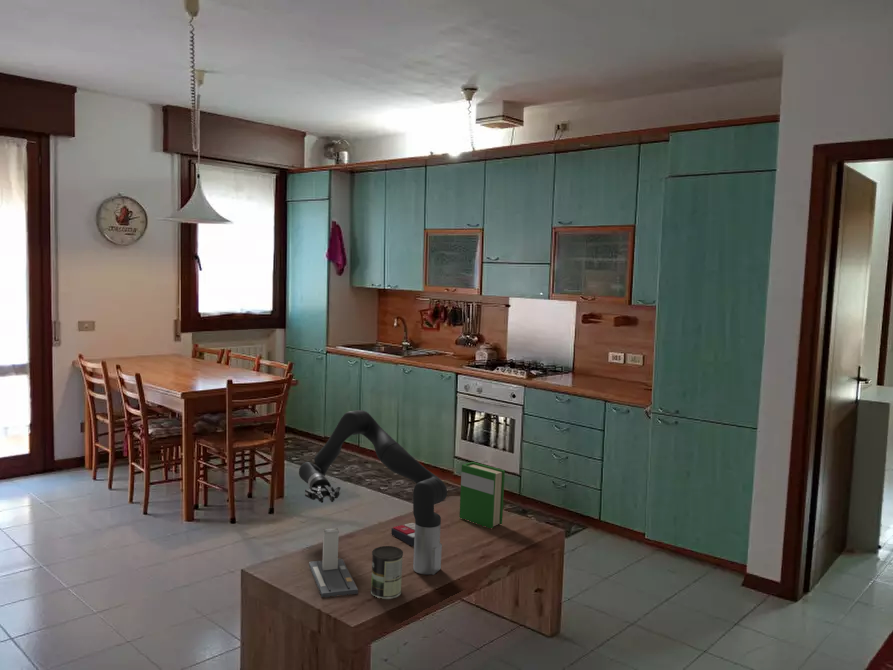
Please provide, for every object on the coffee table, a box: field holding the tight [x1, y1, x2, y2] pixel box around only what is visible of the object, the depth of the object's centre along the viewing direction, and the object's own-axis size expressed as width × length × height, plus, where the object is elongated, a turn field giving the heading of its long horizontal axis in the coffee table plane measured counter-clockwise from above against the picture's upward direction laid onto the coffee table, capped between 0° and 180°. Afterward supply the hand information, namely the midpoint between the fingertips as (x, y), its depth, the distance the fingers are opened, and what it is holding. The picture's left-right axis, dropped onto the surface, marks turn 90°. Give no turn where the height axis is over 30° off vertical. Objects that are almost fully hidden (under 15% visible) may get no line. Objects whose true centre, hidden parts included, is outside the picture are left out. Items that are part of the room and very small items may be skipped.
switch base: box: [308, 558, 359, 598], centre depth 252 cm, size 26×12×2 cm, turn 20°
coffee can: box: [370, 545, 404, 600], centre depth 243 cm, size 10×10×14 cm
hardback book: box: [459, 461, 506, 529], centre depth 313 cm, size 18×7×24 cm, turn 49°
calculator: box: [390, 522, 415, 547], centre depth 293 cm, size 11×4×15 cm
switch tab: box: [322, 527, 340, 570], centre depth 256 cm, size 2×5×14 cm, turn 110°
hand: (327, 499), depth 262 cm, fingers open, 3 cm apart
